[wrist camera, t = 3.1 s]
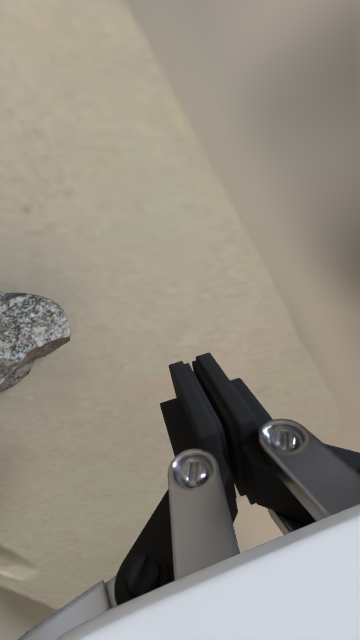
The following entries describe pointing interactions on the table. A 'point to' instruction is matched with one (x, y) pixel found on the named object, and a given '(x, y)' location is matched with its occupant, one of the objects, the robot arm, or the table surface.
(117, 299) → the table surface
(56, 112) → the table surface
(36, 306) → the rock
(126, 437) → the table surface
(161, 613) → the robot arm
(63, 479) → the table surface
